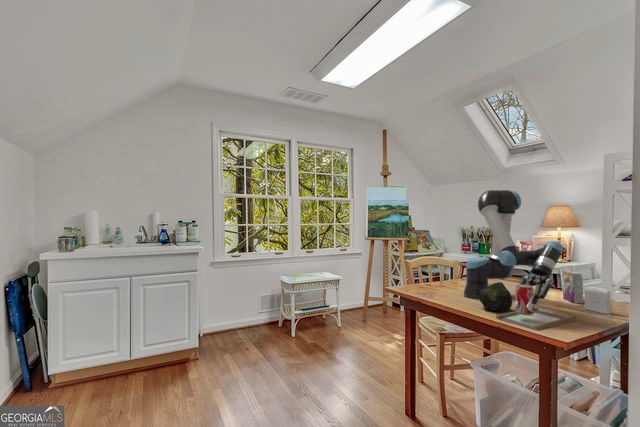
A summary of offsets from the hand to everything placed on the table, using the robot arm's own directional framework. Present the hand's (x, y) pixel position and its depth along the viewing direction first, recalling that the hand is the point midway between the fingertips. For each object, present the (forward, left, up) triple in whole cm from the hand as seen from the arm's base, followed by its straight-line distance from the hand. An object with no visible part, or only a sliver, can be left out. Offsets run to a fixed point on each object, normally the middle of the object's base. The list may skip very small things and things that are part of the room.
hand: (522, 307), depth 143 cm
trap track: (0, +10, -7) cm, 12 cm away
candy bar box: (-10, +63, -7) cm, 64 cm away
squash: (-19, +9, -7) cm, 22 cm away
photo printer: (+7, +50, -7) cm, 51 cm away
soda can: (-1, +4, -4) cm, 6 cm away
